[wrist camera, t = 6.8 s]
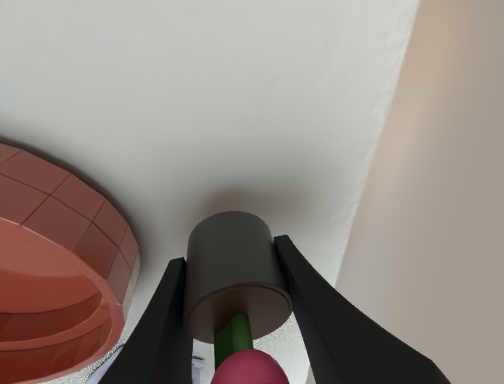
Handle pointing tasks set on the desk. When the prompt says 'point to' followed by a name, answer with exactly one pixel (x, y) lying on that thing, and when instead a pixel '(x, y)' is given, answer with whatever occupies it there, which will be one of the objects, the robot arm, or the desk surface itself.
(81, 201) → the bowl
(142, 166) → the desk surface
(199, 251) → the tulip
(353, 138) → the desk surface
